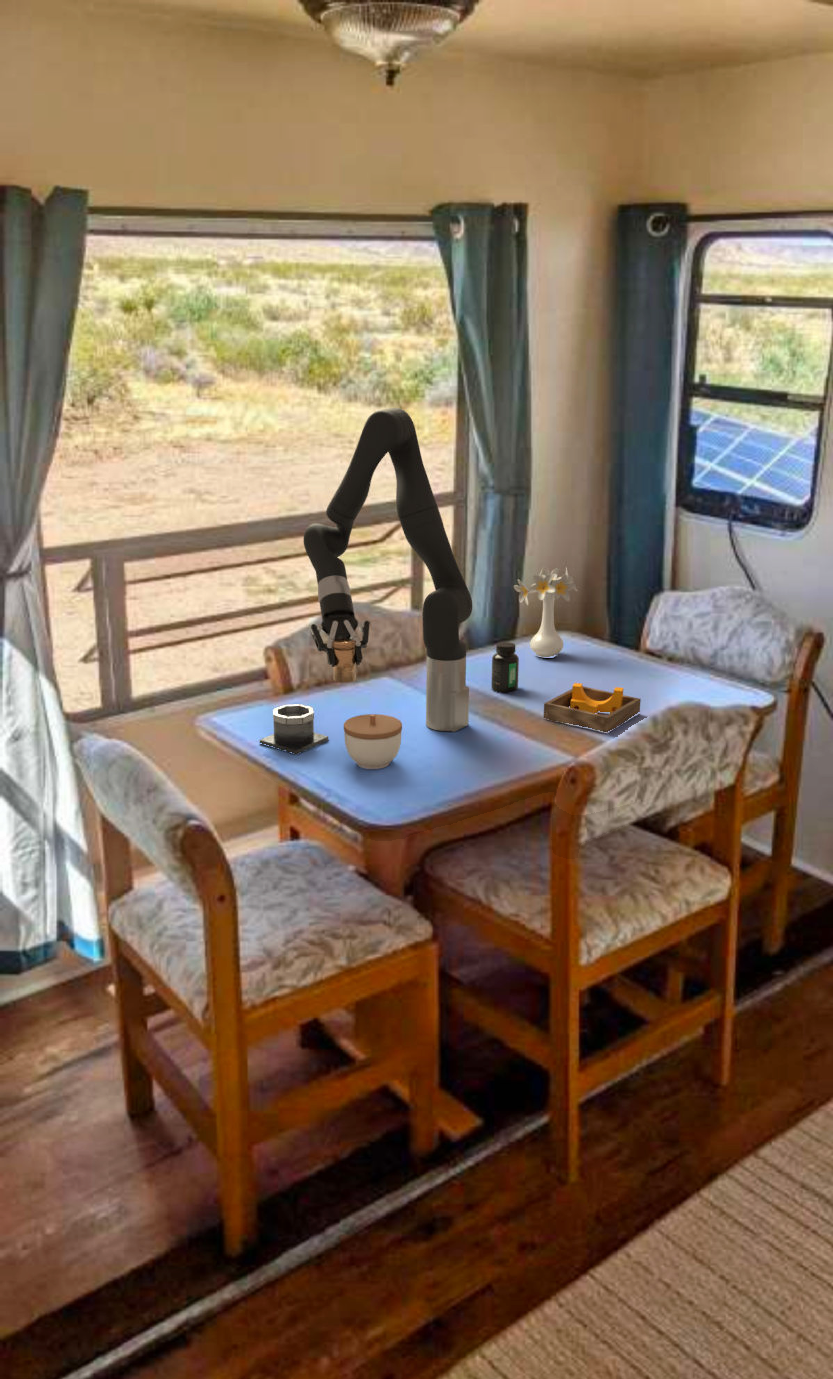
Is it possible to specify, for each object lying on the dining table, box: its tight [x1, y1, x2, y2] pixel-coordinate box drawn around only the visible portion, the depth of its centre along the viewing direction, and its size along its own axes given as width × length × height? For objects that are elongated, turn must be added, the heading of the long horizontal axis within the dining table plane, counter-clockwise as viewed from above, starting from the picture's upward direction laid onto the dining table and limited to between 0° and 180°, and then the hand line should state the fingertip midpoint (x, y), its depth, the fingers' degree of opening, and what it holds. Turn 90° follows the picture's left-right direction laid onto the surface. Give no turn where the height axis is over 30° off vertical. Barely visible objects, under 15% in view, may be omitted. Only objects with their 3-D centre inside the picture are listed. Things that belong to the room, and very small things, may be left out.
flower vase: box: [513, 566, 579, 657], centre depth 334 cm, size 13×18×25 cm
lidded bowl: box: [343, 713, 403, 770], centre depth 261 cm, size 13×13×11 cm
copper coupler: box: [332, 638, 357, 684], centre depth 273 cm, size 5×5×9 cm
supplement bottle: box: [490, 641, 520, 694], centre depth 309 cm, size 7×7×12 cm
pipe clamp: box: [570, 682, 624, 714], centre depth 293 cm, size 12×4×6 cm, turn 72°
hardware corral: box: [543, 685, 642, 732], centre depth 291 cm, size 17×17×4 cm
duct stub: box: [259, 703, 329, 755], centre depth 273 cm, size 11×11×8 cm
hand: (346, 664), depth 272 cm, fingers closed on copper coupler, 5 cm apart
